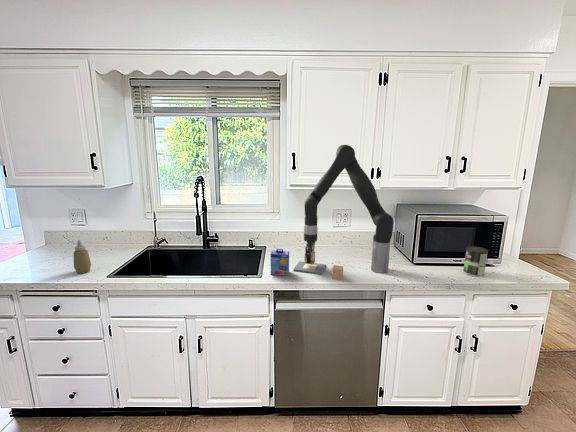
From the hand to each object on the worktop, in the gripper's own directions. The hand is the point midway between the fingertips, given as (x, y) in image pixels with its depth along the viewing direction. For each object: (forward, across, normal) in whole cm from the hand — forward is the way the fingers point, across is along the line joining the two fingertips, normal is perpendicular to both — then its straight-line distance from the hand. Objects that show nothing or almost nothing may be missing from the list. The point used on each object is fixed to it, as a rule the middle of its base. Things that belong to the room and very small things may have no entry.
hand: (309, 261), depth 177 cm
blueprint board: (+4, 0, 0) cm, 4 cm away
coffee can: (+4, +22, -88) cm, 91 cm away
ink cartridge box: (+5, -12, +14) cm, 19 cm away
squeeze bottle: (+5, -44, +117) cm, 125 cm away
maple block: (+1, 0, 0) cm, 1 cm away
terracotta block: (+4, -8, -17) cm, 19 cm away
